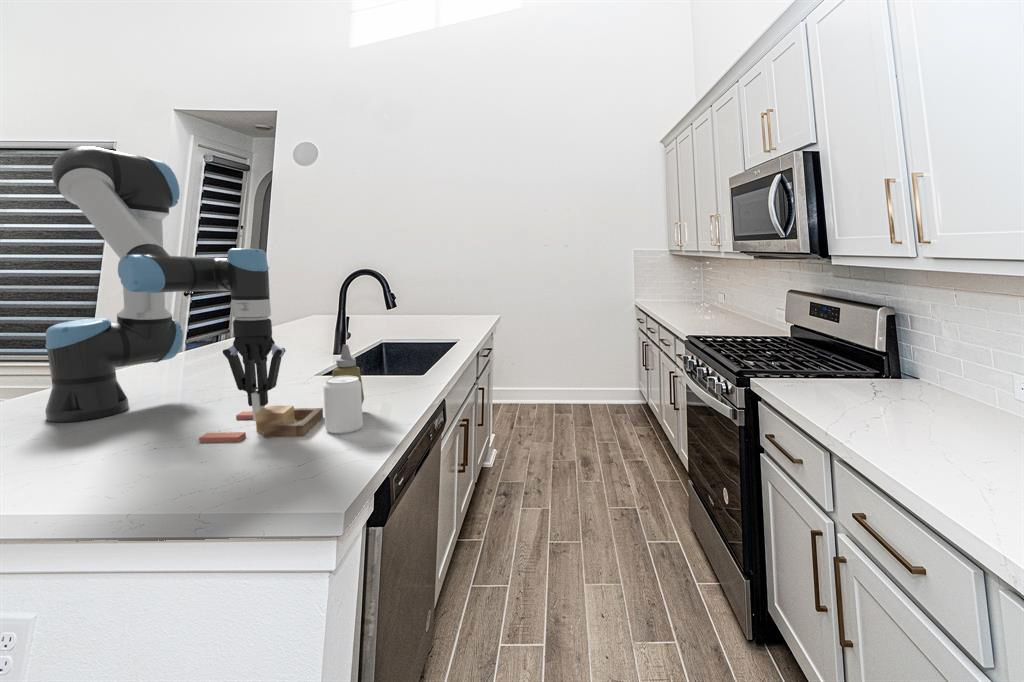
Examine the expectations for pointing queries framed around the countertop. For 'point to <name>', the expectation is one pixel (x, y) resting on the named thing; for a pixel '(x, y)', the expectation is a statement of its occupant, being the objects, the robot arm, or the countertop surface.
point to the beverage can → (343, 404)
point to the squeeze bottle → (347, 367)
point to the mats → (227, 435)
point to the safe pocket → (295, 430)
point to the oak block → (274, 416)
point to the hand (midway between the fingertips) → (259, 418)
